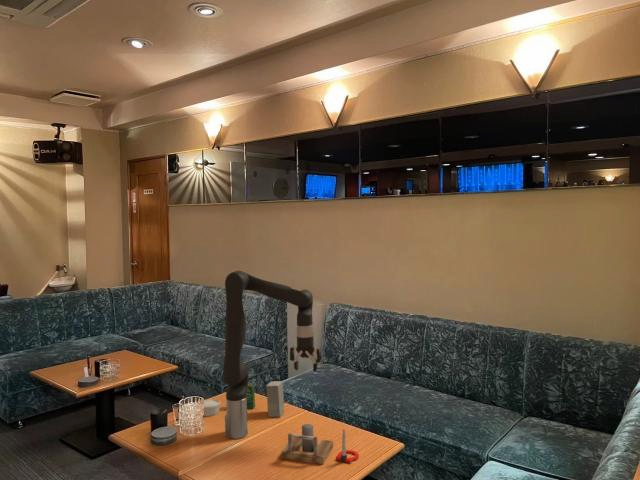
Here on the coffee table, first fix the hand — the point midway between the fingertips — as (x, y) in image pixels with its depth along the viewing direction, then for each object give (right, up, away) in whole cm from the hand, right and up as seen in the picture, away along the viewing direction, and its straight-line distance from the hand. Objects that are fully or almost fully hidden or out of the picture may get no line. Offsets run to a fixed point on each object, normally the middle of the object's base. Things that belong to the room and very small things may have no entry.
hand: (305, 370), depth 206 cm
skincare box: (-16, -30, +27) cm, 44 cm away
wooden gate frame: (+1, -31, -14) cm, 34 cm away
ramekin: (-51, -31, +31) cm, 67 cm away
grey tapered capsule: (+1, -31, -13) cm, 33 cm away
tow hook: (+18, -31, -18) cm, 40 cm away
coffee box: (-32, -30, +36) cm, 57 cm away
